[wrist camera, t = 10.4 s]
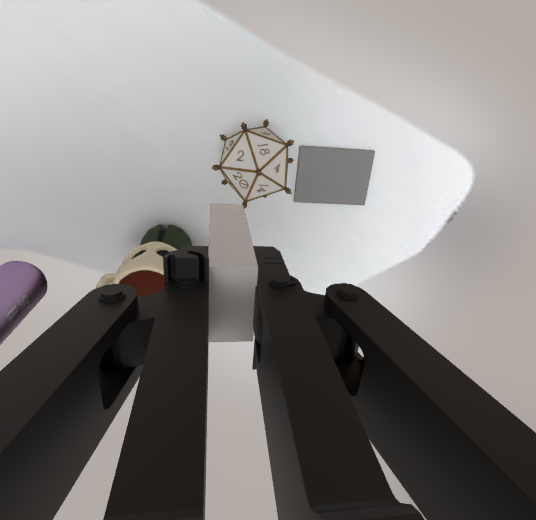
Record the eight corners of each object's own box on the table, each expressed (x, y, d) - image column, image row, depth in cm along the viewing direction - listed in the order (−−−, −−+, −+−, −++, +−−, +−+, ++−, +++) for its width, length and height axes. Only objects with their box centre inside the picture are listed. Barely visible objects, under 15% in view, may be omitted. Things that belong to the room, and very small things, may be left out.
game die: (296, 180, 44) (314, 204, 35) (230, 202, 44) (231, 231, 35) (276, 104, 40) (290, 109, 31) (203, 128, 40) (197, 140, 31)
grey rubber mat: (293, 200, 45) (294, 201, 44) (299, 145, 42) (300, 146, 42) (362, 203, 46) (364, 205, 46) (373, 150, 43) (374, 151, 43)
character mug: (209, 219, 45) (204, 264, 33) (212, 270, 48) (207, 328, 36) (119, 219, 44) (79, 266, 32) (127, 272, 47) (93, 332, 35)
